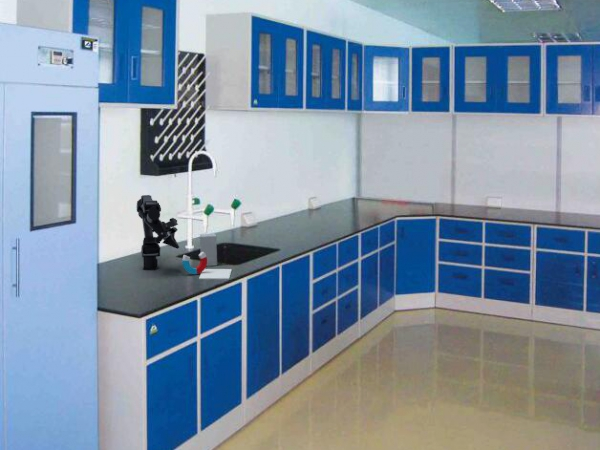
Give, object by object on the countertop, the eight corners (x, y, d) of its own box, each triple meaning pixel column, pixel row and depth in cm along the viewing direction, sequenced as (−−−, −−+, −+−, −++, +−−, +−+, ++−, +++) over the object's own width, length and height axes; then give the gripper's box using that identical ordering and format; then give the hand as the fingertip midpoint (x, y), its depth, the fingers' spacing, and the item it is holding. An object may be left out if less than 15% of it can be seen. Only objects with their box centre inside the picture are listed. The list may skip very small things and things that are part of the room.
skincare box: (216, 263, 395) (216, 233, 393) (217, 266, 388) (217, 235, 386) (200, 263, 394) (199, 233, 392) (200, 266, 387) (200, 235, 385)
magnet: (185, 276, 366) (183, 255, 364) (183, 275, 368) (181, 255, 366) (208, 272, 371) (206, 251, 369) (206, 271, 373) (204, 251, 372)
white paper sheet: (199, 279, 360) (199, 278, 360) (203, 269, 379) (203, 268, 379) (229, 279, 360) (229, 278, 360) (231, 270, 380) (231, 269, 380)
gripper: (160, 215, 358) (184, 240, 358) (173, 210, 376) (195, 233, 376) (145, 232, 360) (168, 256, 360) (158, 225, 378) (180, 248, 378)
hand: (178, 248), depth 369 cm, fingers closed
